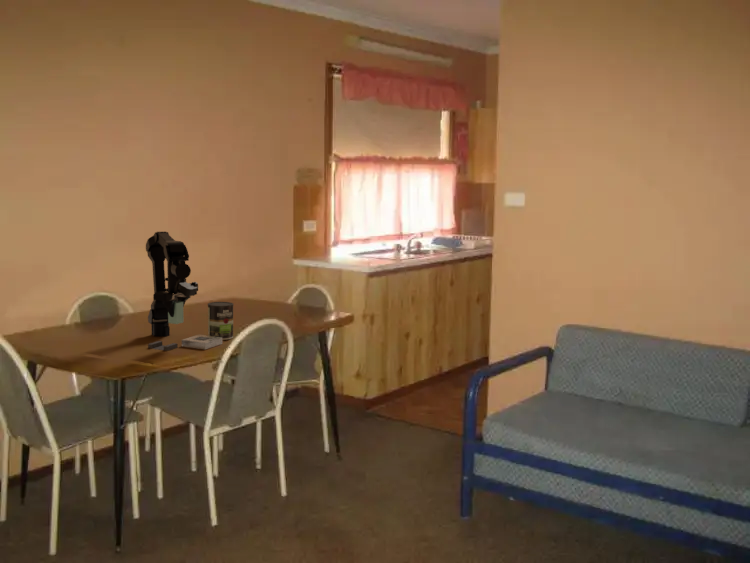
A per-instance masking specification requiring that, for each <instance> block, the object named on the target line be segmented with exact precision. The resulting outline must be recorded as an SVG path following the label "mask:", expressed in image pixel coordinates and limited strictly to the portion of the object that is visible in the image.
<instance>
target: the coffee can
mask: <svg viewBox="0 0 750 563" xmlns="http://www.w3.org/2000/svg"><path fill="white" fill-rule="evenodd" d="M207 327H208V328H207V331H208V332H207V336H215V337H222V341H228V340H232V339H233V338H234V303H233V302H230V301H212V302H208V303H207Z"/></svg>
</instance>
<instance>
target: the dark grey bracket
mask: <svg viewBox="0 0 750 563" xmlns="http://www.w3.org/2000/svg"><path fill="white" fill-rule="evenodd" d="M147 345H148V346H147V347H148V349H153V350H159V351H166V352H168V351H171V350H174V349H178V346H179V345H178V343H175V342H173V343H170V344H167V345H166V344H165V345H164V344H163V341H161V340H158V341H153V342H149V343H148V344H147Z"/></svg>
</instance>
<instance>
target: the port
mask: <svg viewBox="0 0 750 563" xmlns="http://www.w3.org/2000/svg"><path fill="white" fill-rule="evenodd" d="M220 345H223V340H222V337H215V336H208V334H207V335H206V334H195V335H193V336H190V337H187V338H183V339H181V347H185V348H191V349H199V350H208V349H212V348H215V347H217V346H220Z"/></svg>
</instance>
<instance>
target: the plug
mask: <svg viewBox="0 0 750 563" xmlns="http://www.w3.org/2000/svg"><path fill="white" fill-rule="evenodd" d="M174 299H176V300H177V301H176V302H175V304H174V316H173V317H171V316H170V314H169V312H168V323H169V324H172V325H179V324H183V323H184V320H185V319H184V307H183V302H182V301H178V298H174Z"/></svg>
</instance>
